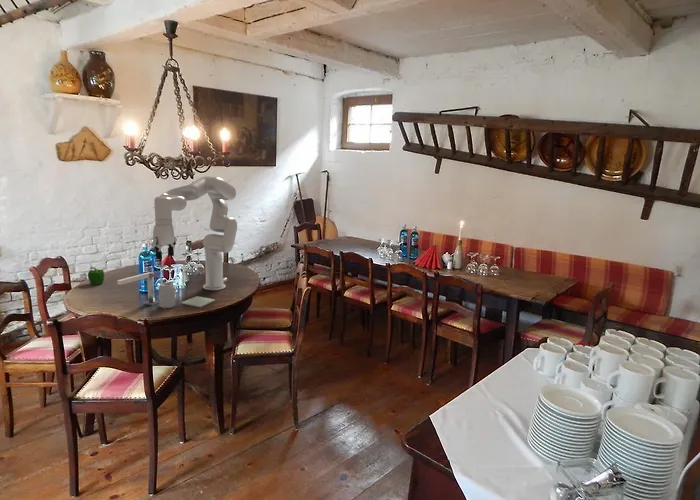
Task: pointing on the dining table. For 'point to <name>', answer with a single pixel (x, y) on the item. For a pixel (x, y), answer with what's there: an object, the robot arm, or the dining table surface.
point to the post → (151, 292)
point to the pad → (198, 301)
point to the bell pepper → (96, 276)
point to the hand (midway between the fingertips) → (165, 257)
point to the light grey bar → (135, 278)
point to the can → (166, 295)
